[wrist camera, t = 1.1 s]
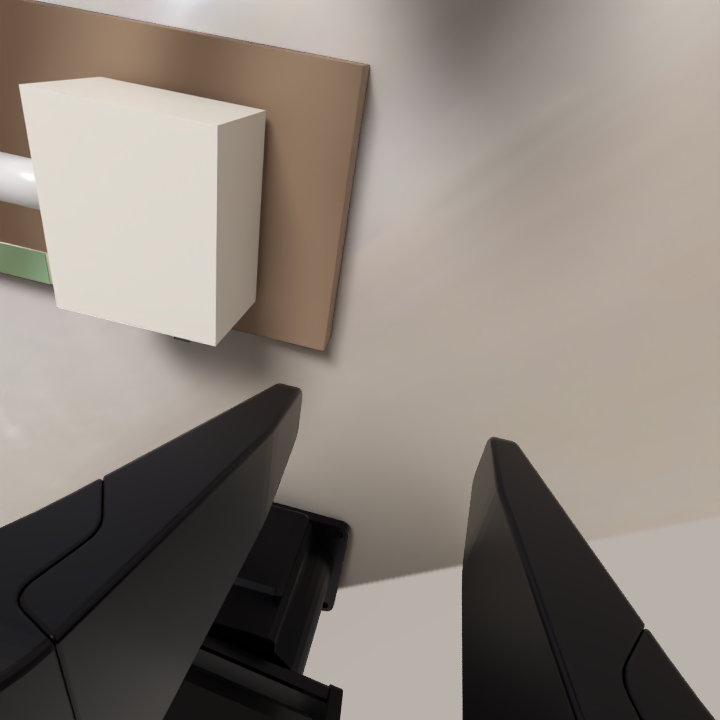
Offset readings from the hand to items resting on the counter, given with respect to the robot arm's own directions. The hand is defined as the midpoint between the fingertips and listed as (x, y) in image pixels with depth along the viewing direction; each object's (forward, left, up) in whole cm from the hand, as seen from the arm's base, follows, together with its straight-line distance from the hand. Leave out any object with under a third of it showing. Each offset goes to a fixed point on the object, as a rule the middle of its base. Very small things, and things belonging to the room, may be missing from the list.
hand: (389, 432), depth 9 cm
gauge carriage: (-1, +9, -9) cm, 13 cm away
